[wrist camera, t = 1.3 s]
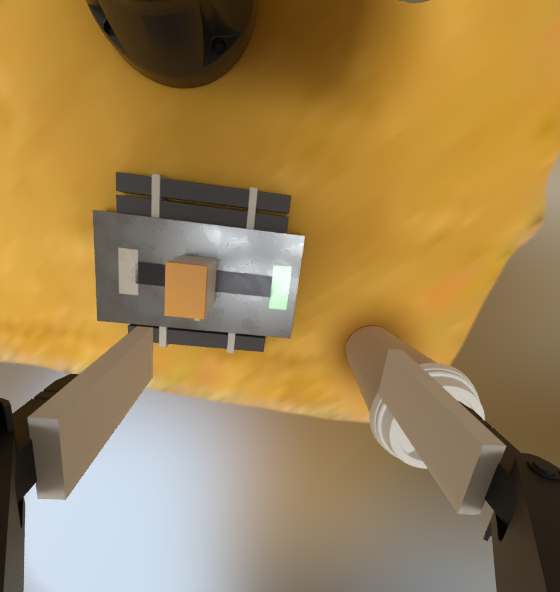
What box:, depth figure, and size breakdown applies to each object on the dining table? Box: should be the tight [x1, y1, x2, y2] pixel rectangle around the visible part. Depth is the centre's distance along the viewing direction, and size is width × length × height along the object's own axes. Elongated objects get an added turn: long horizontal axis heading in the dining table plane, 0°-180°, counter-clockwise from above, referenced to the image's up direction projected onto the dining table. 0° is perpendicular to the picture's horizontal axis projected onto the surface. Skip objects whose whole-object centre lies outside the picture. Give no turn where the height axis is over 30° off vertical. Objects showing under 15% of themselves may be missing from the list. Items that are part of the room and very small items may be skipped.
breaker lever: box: [164, 255, 217, 319], centre depth 28 cm, size 5×4×6 cm
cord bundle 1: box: [116, 172, 291, 234], centre depth 30 cm, size 5×18×2 cm, turn 83°
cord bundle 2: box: [128, 324, 265, 353], centre depth 34 cm, size 3×16×2 cm, turn 83°
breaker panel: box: [93, 210, 305, 338], centre depth 32 cm, size 12×22×3 cm, turn 83°
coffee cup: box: [345, 326, 485, 469], centre depth 30 cm, size 10×10×15 cm
